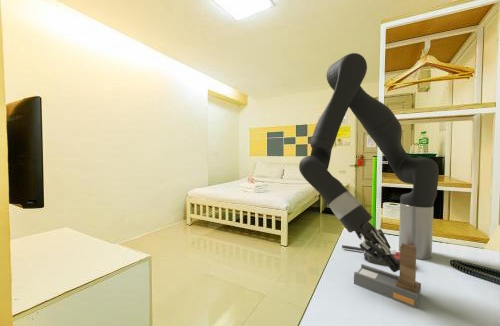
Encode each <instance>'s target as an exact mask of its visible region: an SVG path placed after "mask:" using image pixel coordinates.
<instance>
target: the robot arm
mask: <svg viewBox="0 0 500 326" xmlns="http://www.w3.org/2000/svg"><path fill="white" fill-rule="evenodd" d="M367 70H368V63H367V61H366V58H365V57H364V56H363V55H361V54H360V53H357V52H356V53H355V52H352V53H348V54H346V55H344V56H343V57H341V58H340V59H338V60H337V61H335V62H334V63H332V64H331V65H329V67H328V68H327V71H326V80H327V83H328V85H329V87H330V88H331V89H332V90H333V92H332V96H331V97H330V99H329V102H328V104H327V105H326V107H325V109H324V110H323V112H322V114H321V115H320V117H319V119H318V121H317V122H316V125H315V128H314V130H313V133H312V136H311V138H310V143H309V144H310V147H311V150H310V151H311V152H310V155H307V156H305V157H303V158H302V159H301V160H300V162H299V166H298V169H299V172H300V175H301V176H302V177H303V178H304V179H305V180H306V182H307V183H308V184H309V185H310V186H311V187H312V188H314V190H315V191H317V192H318V194H319V195H320V196H321V198H322V199H323V201H325V203H326V204H327V205H328V207H329V208H330V210H331V211H332V213H333V215H334V216H335V217H336V218H337V220H339V222H340V223H341V224H342V226H343V227H344V228H345V229H346V231H347V232H348V233H353V232H354V233H355V234H356V236H357V237H358V239H359V240H360V241H361V243H359V248H362V249H363V250H365V251H366V252H368V253H369V254H371V255H372V256H373V257H375V258H376V259H378V258H380V259H383V260H384V262H385V263H386V264H387V265H386V266H387V267H388V268H389V269H390V270H391V271H392V272H393V273H396V272H400V263H399V262H398V261H397V260H396V259H395V257H394V256H393V255H392V254H391V251H392V250H391V249H392V248H391V245H390V243H389V241H388V239H387V238H386V236H385V233H384V232H383V230H382V229H381V228H378V229H377V228H376V227H374V225H373V224H371V222H370V221H371V220H373V216H372V215H371V214H370V212H369V211H368V210H367V209H366V208H365V207H364V206H363V205H362V204H361V202H360V201H359V200H358V199H357V198H356V197H355V195H353V194H352V193H351V192H349V191H348V189H347V188H346V187H345V185H344V184H343V183H342V182H341V181H340V180H339V179H337V177H334V175H332V174H331V172H330V171H329V166H330V162H331V156H332V150H333V148H334V146H335V145H334V144H335V142H336V139H337V137H338V134H339V131H340V129H341V125H342V123H343V120H344V118H345V116H346V114H347V111H348V110H349V109H350V111H351V112H352V113H353V115H354V117H356V119H357V120H358V121H359V122H360V124H361V126H362V127H363V129H364V131H366V133H367V135H369V137H370V138H371V139H372V141H374V143H375V144H376V146H377V147H378V149H379V150H380V151H381V153H382V154H383V156H384V157H385V160H387V162H388V165H389V166H390V167H391V170H392V171H393V173H394V174H395V176H396V178H397V179H398V180H399V181H400V182H402V183H404V184H409V185H412V190H411V191H410V192H407V193H403V194H401V195H400V196H399V197H400V198H399V200H400V201H399V225H398V226H399V227H398V228H399V231H398V233H399V236H398V252H400V247H401V245H402V244H403V243H404V244H408V245H412V246H416V247H417V250H416V259H419V260H420V259H421V260H429V259H431V258H432V253H433V231H434V230H433V229H434V226H433V225H434V205H435V200H436V198H437V195H438V187H439V185H438V184H439V175H440V173H439V171H440V170H439V167H438V163H437V162H436V161H435V160H434V159H432V158H426V157H424V158H422V157H411V156H410V155H409V154H408V153H407V152H406V149H404V147H403V145H402V136H403V130H402V124H401V123H400V121H399V119H398V118H397V117H396V115H395V113H393V111H392V110H391V108H390V107H388V106H387V105H386V104H385V103H383V102H381V101H380V100H378V99H376V98H374V97H373V96H372V95H369V94H368V93H367V91H365V90H364V88H363V87H362V86H361V84H362V83H363V81H364V80H365V77H366V74H367Z"/></svg>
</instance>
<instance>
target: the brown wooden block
mask: <svg viewBox="0 0 500 326" xmlns="http://www.w3.org/2000/svg"><path fill="white" fill-rule="evenodd" d="M416 250H417V247H416V246H412V245H408V244H404V243H403V244H402V245H401V247H400V251H399V252H400V270H399V275H398V276H399V278H398V280H397V282H396V286H397V287H400V288H402V289H405V290H408V291H411V292H414V293H417V290H418V287H419V283H420V282H419V281H416V277H417V276H416V275H417V272H416V271H417V258H416ZM415 281H416V282H415ZM418 282H419V283H418Z"/></svg>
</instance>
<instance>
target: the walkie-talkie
mask: <svg viewBox="0 0 500 326" xmlns="http://www.w3.org/2000/svg"><path fill="white" fill-rule="evenodd" d="M341 248H342V249H346V250H354V251H361V252H363V259H364V260H367V263H369V264H370V263H371V264H376V265H381V266H388V265H387V264H386V263H385V262H384V260H383V259H380V258H378V259H376V258H375V257H373V256H372V255H371V254H369V253H368V252H366V251H365V250H363V249H362V248H361V247H360V246H349V245H341ZM390 251H391V254H392V255H393V256H394V257H395V259H396V260H397V261H398V262H399V263H400V251H396V249H392V250H390Z"/></svg>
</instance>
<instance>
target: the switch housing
mask: <svg viewBox="0 0 500 326" xmlns="http://www.w3.org/2000/svg"><path fill="white" fill-rule="evenodd" d="M399 276H400V275H397V274H395V273H391V272H388V271H385V270H382V269H378V268H376V267H373V266H369V265H366V264H364V263H362V264H360V268H359V270H358V271H354V273H353V284H355V285H357V286H359V287H361V288H365V289H367V290H369V291H372V292H375V293H377V294H380V295H382V296H385V297H387V298H390V299H392V300H395V301H398V302H400V303H402V304H405V305H408V306H410V307H413V308H415V309H417V308H418V304H419V301H420V297H421V295H422V283H421V282H419V281H416V280H415V282H418V283H419V287H418V290H417V293H414V292H411V291H408V290H405V289H402V288H400V287H397V286H396V282H397V280H398V278H399Z"/></svg>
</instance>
